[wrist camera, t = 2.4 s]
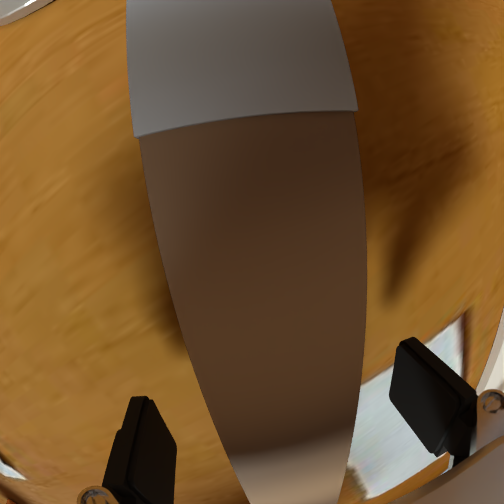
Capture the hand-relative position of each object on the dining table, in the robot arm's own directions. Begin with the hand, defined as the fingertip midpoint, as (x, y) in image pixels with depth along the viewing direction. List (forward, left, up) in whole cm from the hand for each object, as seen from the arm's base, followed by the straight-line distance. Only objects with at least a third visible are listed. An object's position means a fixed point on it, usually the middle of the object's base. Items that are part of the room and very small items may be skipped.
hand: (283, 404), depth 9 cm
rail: (-1, 0, -3) cm, 3 cm away
